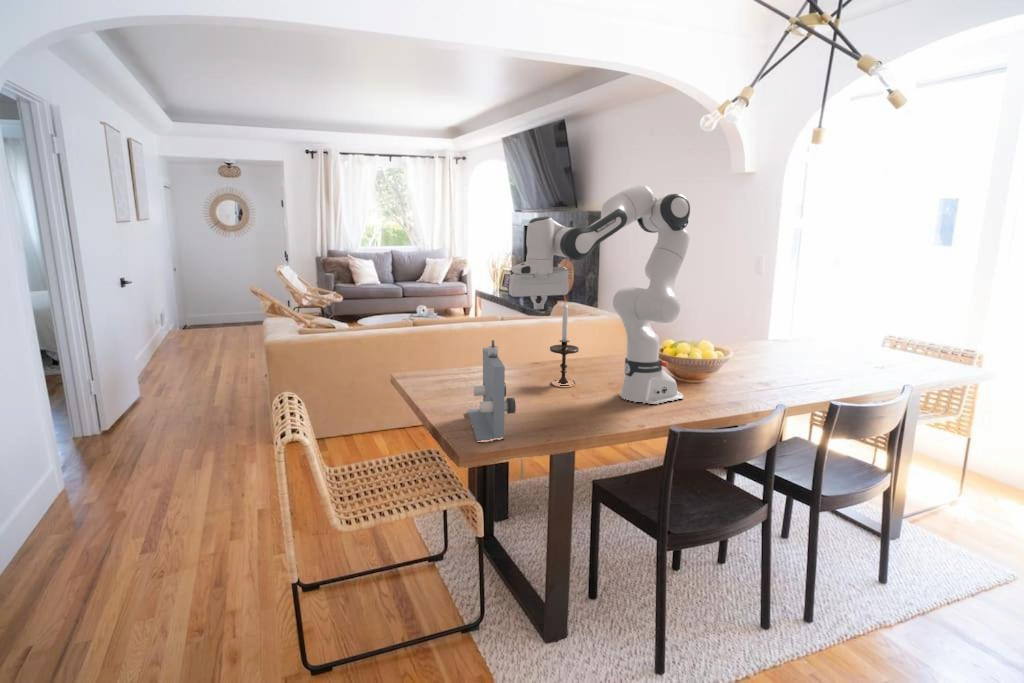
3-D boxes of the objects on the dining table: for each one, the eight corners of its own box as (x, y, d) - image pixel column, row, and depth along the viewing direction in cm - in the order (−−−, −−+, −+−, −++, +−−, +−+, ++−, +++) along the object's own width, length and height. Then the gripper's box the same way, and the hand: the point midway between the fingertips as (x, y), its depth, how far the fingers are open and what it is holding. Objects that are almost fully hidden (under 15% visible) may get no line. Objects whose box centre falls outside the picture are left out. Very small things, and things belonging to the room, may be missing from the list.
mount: (491, 411, 193) (491, 346, 189) (504, 441, 168) (505, 367, 164) (467, 412, 192) (466, 347, 187) (477, 443, 167) (476, 368, 162)
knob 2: (512, 410, 175) (512, 395, 174) (515, 415, 170) (515, 400, 169) (479, 412, 173) (479, 397, 172) (481, 417, 168) (481, 402, 167)
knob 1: (503, 394, 190) (503, 380, 189) (506, 398, 186) (506, 384, 185) (473, 395, 188) (473, 381, 187) (474, 400, 184) (474, 386, 183)
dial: (496, 355, 178) (496, 339, 177) (498, 357, 175) (498, 341, 174) (487, 356, 177) (487, 339, 176) (489, 358, 174) (489, 341, 173)
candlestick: (546, 387, 221) (548, 295, 213) (551, 379, 231) (553, 291, 224) (575, 389, 218) (578, 296, 211) (579, 381, 229) (582, 292, 221)
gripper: (564, 265, 197) (563, 306, 201) (507, 267, 191) (507, 308, 194) (572, 267, 192) (571, 309, 195) (513, 268, 185) (513, 312, 188)
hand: (538, 309), depth 194 cm, fingers closed
